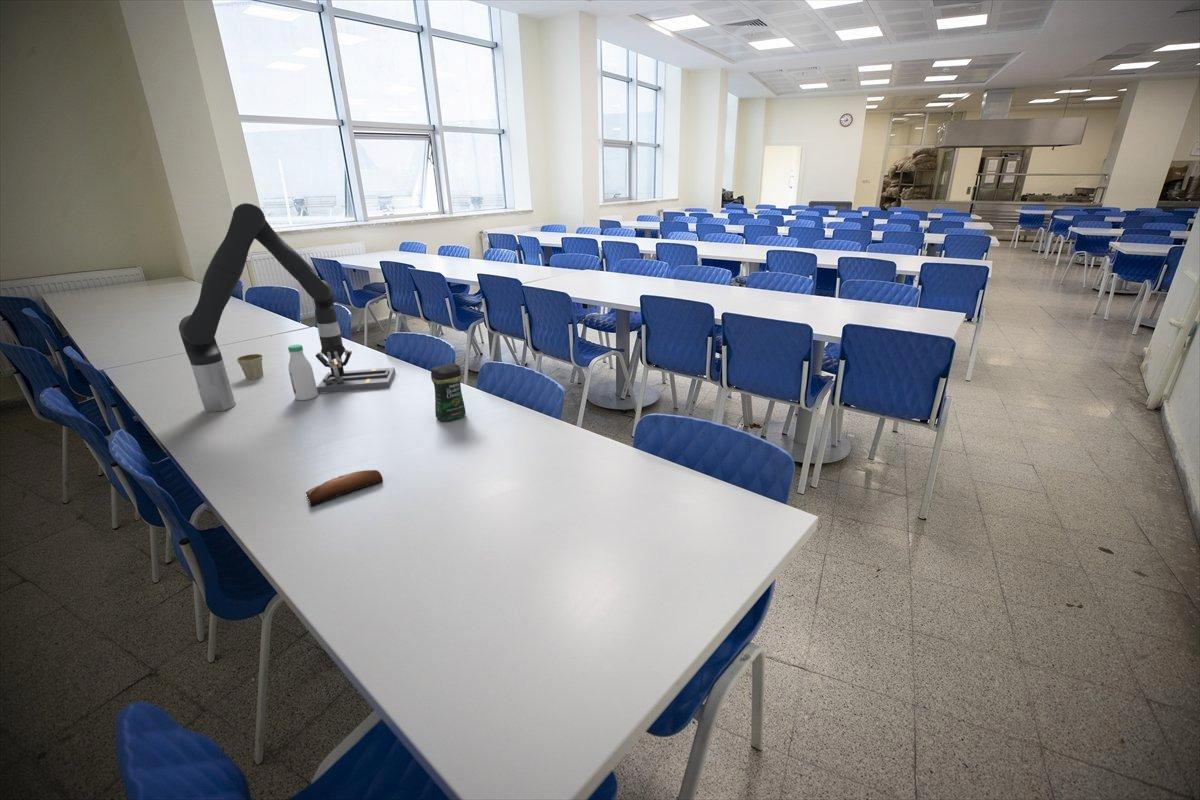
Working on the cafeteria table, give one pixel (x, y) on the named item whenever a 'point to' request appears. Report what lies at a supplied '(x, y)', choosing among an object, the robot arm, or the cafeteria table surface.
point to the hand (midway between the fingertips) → (338, 375)
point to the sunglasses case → (343, 485)
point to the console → (357, 380)
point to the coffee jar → (448, 392)
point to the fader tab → (336, 370)
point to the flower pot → (251, 365)
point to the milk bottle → (301, 374)
